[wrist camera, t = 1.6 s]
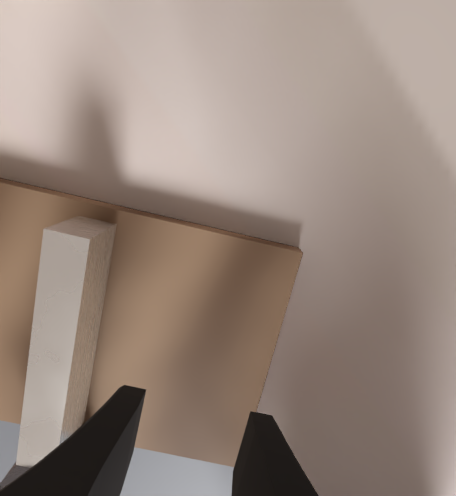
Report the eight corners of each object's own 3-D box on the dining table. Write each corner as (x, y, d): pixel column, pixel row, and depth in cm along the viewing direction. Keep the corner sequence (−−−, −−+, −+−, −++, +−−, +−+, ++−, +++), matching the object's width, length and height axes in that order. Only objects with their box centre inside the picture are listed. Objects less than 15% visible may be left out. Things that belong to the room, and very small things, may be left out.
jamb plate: (298, 247, 17) (303, 252, 16) (239, 453, 20) (239, 468, 19) (-86, 158, 16) (-106, 158, 15) (-93, 386, 19) (-110, 398, 18)
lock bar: (88, 469, 18) (58, 534, 15) (33, 458, 18) (-8, 521, 15) (131, 227, 15) (105, 244, 12) (66, 212, 15) (22, 225, 12)
